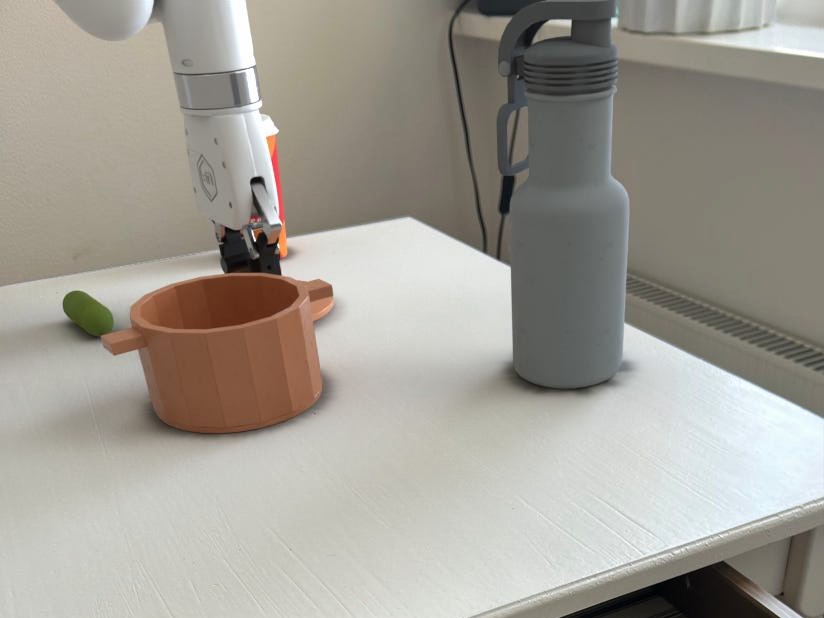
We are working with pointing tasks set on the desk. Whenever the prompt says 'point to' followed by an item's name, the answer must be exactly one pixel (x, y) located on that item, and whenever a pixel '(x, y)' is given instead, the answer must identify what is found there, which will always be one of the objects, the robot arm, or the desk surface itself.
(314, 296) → the pot
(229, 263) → the lid
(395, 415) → the desk surface
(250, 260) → the robot arm
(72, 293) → the pickle
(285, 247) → the coffee cup
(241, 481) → the desk surface
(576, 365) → the water bottle
